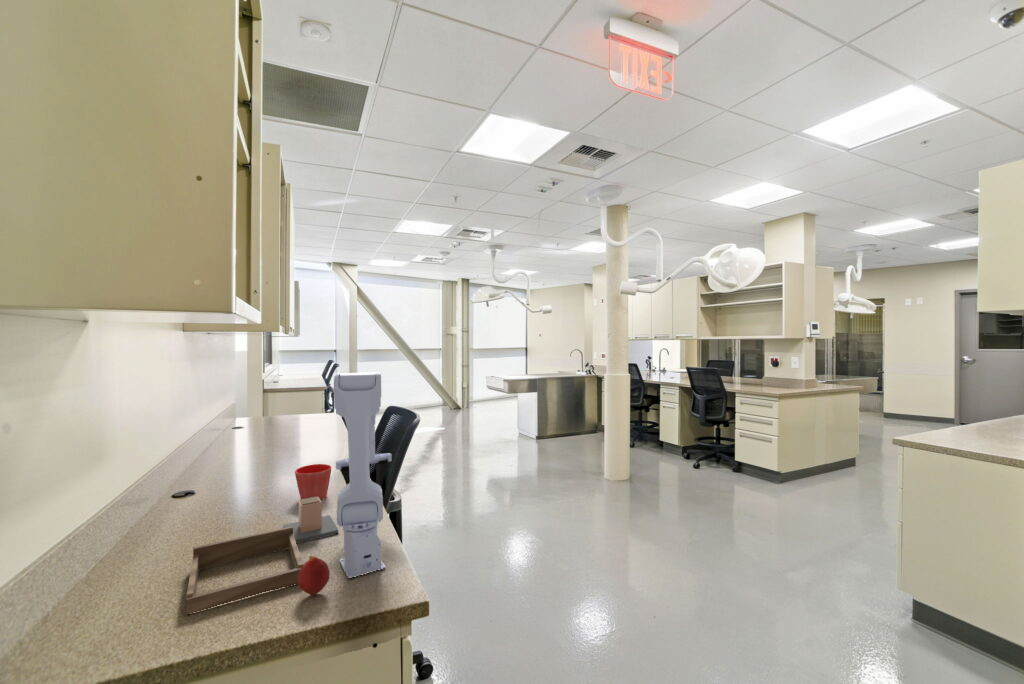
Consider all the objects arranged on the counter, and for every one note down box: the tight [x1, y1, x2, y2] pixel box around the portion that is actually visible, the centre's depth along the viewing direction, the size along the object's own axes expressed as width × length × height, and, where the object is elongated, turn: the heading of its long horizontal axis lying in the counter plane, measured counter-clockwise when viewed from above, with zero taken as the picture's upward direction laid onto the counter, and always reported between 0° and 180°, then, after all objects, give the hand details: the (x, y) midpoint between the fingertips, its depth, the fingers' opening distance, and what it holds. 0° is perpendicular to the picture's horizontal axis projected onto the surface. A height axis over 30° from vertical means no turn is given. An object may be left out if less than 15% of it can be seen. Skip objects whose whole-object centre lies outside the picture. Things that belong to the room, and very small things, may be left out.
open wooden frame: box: [185, 526, 304, 616], centre depth 95 cm, size 20×20×5 cm
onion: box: [297, 554, 330, 596], centre depth 88 cm, size 6×6×8 cm
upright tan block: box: [297, 497, 323, 533], centre depth 117 cm, size 5×5×7 cm
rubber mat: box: [282, 514, 339, 544], centre depth 117 cm, size 12×12×1 cm
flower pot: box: [294, 463, 332, 500], centre depth 143 cm, size 11×11×10 cm
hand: (364, 491), depth 120 cm, fingers open, 7 cm apart
